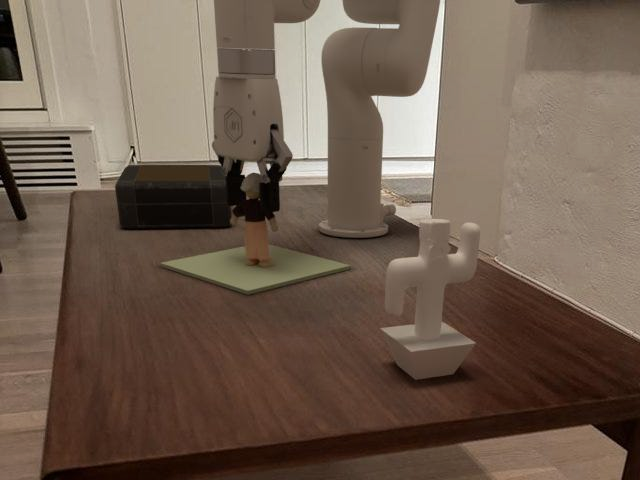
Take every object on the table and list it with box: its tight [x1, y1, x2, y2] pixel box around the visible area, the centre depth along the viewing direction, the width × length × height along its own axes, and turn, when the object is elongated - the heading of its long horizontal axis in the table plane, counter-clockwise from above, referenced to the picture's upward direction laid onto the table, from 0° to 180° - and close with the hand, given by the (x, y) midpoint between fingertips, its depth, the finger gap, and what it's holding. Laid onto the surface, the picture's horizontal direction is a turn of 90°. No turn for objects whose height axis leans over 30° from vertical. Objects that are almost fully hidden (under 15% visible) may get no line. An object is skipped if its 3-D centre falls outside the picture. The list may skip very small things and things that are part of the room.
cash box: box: [114, 164, 232, 230], centre depth 141 cm, size 25×20×8 cm
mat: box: [160, 244, 351, 296], centre depth 110 cm, size 20×20×1 cm
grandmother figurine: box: [230, 172, 279, 267], centre depth 107 cm, size 8×4×13 cm, turn 79°
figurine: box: [379, 218, 481, 381], centre depth 73 cm, size 7×9×15 cm
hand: (253, 207), depth 106 cm, fingers open, 6 cm apart
